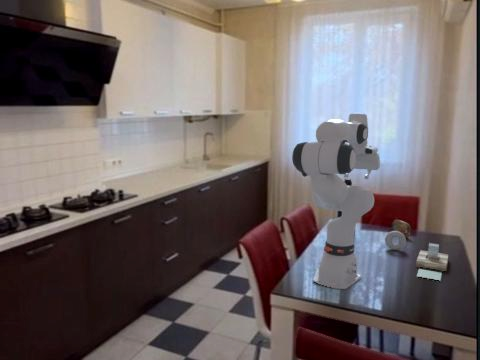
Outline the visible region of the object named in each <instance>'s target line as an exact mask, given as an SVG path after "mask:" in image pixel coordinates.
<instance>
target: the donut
mask: <svg viewBox="0 0 480 360" xmlns="http://www.w3.org/2000/svg"><path fill="white" fill-rule="evenodd" d="M395 238H396V239H398V242H397V243H394V242H393V239H395ZM406 238H407V237H405V236H404V235H403V234H402V233H401V232H399V231H393V230H392V231H389V232H388V233H387V234H386V235H385V237H384V242H385V245H386V247H388V248H389V249H390V250H393V251H400V250H402V249H403V248H404V247H405V246H406V244H407V239H406Z"/></svg>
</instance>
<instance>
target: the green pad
mask: <svg viewBox="0 0 480 360" xmlns="http://www.w3.org/2000/svg"><path fill="white" fill-rule="evenodd" d="M418 277H422V278H421V279H423V278H427V279H426V280H429V279H434V280H439V281H440V282H441V281H442V272H441V271H435V270H434V271H433V270H430V269H424V268H418V270H417V274H416V278H418ZM434 280H433V281H434ZM439 281H438V282H439Z"/></svg>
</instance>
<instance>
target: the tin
mask: <svg viewBox="0 0 480 360" xmlns="http://www.w3.org/2000/svg"><path fill="white" fill-rule="evenodd" d="M391 229H392V231H399V232H401V233H402V234H403V235H404V236H405V238H409V237H410V236H411V231H412V227H411V225H410V223H408V222H406V221H403V220H400V219H394V220H393V221H392V223H391Z"/></svg>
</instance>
